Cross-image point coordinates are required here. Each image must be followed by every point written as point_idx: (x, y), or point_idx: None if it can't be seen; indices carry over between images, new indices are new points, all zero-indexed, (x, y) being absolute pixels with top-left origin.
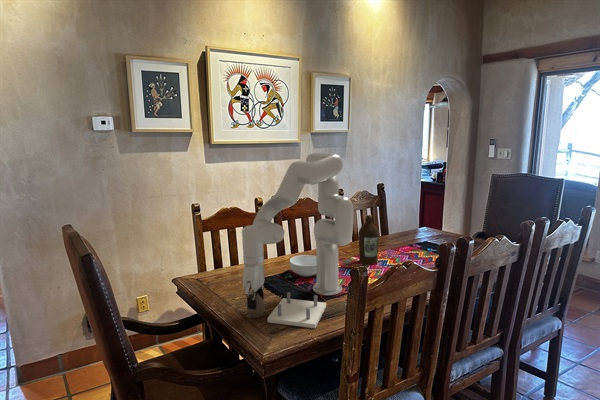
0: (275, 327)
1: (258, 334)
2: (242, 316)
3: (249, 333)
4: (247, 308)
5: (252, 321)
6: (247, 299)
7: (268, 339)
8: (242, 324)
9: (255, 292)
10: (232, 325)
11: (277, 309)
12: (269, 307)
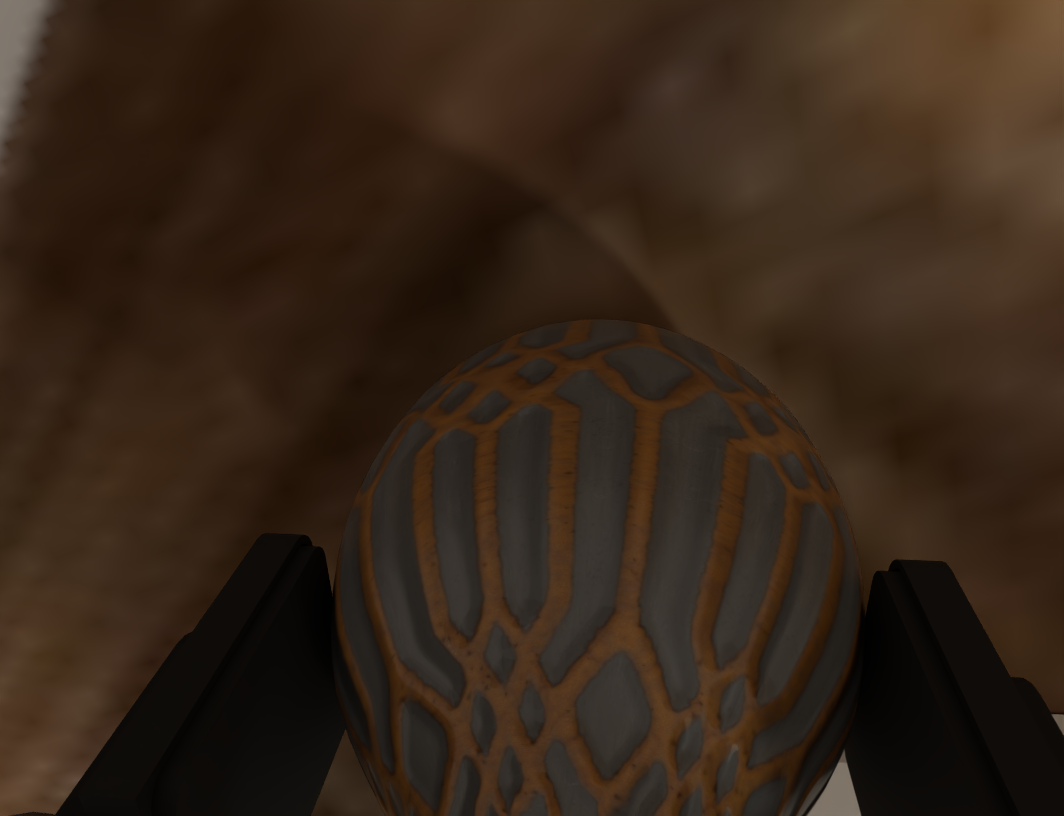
0: (340, 799)
1: (58, 662)
2: (505, 165)
3: (6, 544)
4: (384, 447)
5: (375, 454)
6: (109, 764)
7: (29, 790)
8: (191, 320)
9: (970, 795)
10: (54, 132)
11: (819, 801)
12: (1052, 565)
